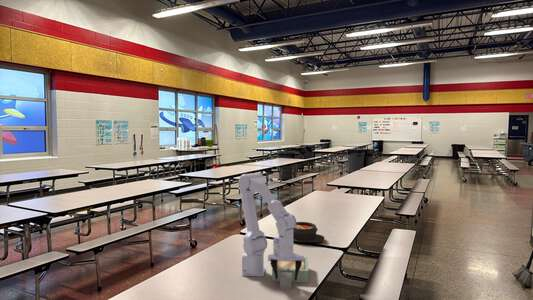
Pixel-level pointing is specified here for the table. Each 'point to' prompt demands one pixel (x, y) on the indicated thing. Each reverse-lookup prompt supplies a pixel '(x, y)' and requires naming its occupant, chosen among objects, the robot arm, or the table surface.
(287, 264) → the trapdoor
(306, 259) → the trapdoor frame
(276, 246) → the medicine box
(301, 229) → the casserole
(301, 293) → the table surface
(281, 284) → the gray block
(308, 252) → the table surface
